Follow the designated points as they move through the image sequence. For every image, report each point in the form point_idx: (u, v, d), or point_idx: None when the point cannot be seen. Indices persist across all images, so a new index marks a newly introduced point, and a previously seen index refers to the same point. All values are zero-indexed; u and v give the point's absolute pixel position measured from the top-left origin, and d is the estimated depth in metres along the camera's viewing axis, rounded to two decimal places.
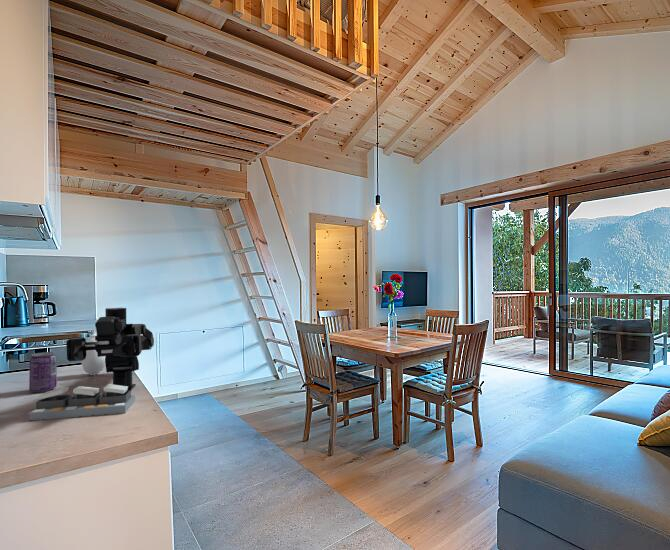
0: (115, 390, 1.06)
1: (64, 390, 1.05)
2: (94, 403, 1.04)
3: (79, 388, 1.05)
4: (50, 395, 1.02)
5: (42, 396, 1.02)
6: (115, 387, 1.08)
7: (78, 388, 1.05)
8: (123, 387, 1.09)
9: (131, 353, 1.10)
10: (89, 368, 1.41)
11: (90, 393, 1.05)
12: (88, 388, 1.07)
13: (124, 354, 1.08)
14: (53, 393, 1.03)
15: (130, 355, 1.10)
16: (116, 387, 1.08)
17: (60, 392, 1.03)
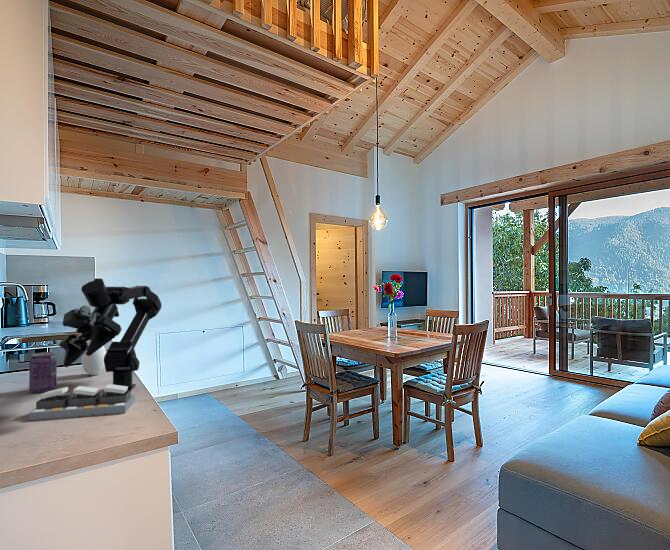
0: (115, 390, 1.06)
1: (64, 390, 1.05)
2: (94, 403, 1.04)
3: (79, 388, 1.05)
4: (50, 395, 1.02)
5: (42, 396, 1.02)
6: (115, 387, 1.08)
7: (78, 388, 1.05)
8: (123, 387, 1.09)
9: (111, 336, 1.06)
10: (89, 368, 1.41)
11: (90, 393, 1.05)
12: (88, 388, 1.07)
13: (104, 343, 1.05)
14: (53, 393, 1.03)
15: (112, 338, 1.06)
16: (116, 387, 1.08)
17: (60, 392, 1.03)
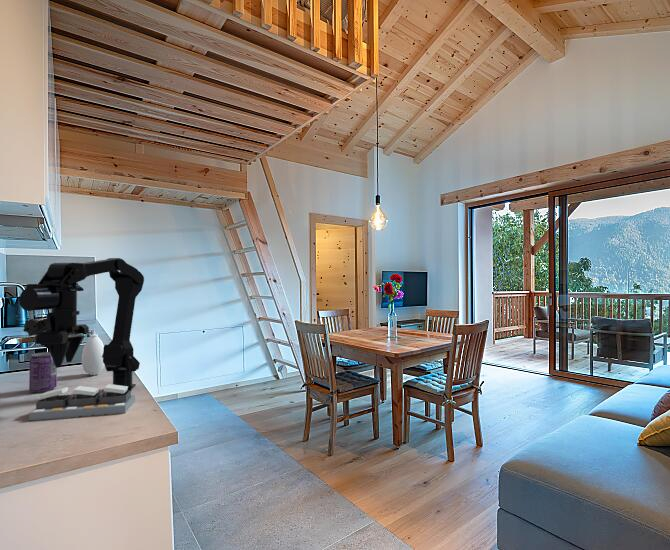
0: (115, 390, 1.06)
1: (64, 390, 1.05)
2: (94, 403, 1.04)
3: (79, 388, 1.05)
4: (50, 395, 1.02)
5: (42, 396, 1.02)
6: (115, 387, 1.08)
7: (78, 388, 1.05)
8: (123, 387, 1.09)
9: (62, 344, 0.99)
10: (89, 368, 1.41)
11: (90, 393, 1.05)
12: (88, 388, 1.07)
13: (63, 351, 1.01)
14: (53, 393, 1.03)
15: (65, 344, 1.00)
16: (116, 387, 1.08)
17: (60, 392, 1.03)
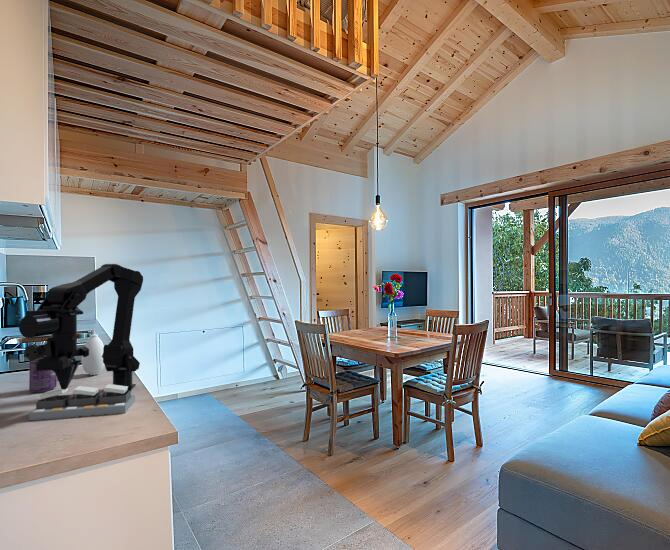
0: (115, 390, 1.06)
1: (64, 390, 1.05)
2: (94, 403, 1.04)
3: (79, 388, 1.05)
4: (50, 395, 1.02)
5: (42, 396, 1.02)
6: (115, 387, 1.08)
7: (78, 388, 1.05)
8: (123, 387, 1.09)
9: (67, 367, 1.02)
10: (89, 368, 1.41)
11: (90, 393, 1.05)
12: (88, 388, 1.07)
13: (68, 373, 1.04)
14: (53, 393, 1.03)
15: None
16: (116, 387, 1.08)
17: (60, 392, 1.03)
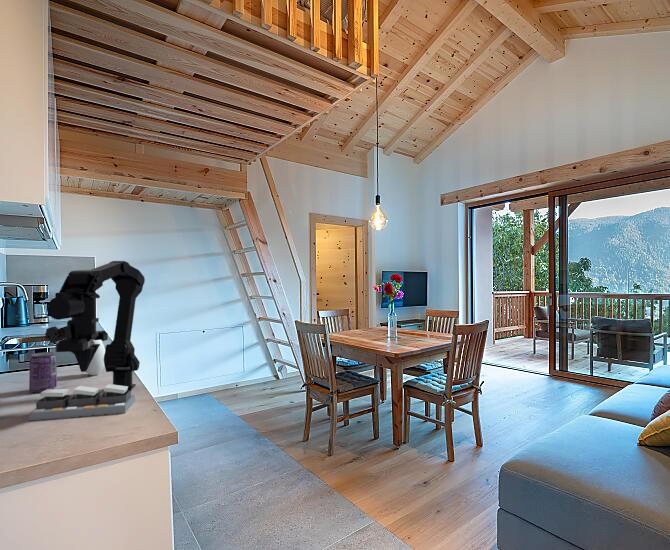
0: (115, 390, 1.06)
1: (65, 393, 1.05)
2: (94, 403, 1.04)
3: (79, 388, 1.05)
4: (50, 395, 1.02)
5: (43, 394, 1.02)
6: (115, 387, 1.08)
7: (78, 388, 1.05)
8: (123, 387, 1.09)
9: (87, 350, 1.04)
10: (89, 368, 1.41)
11: (90, 393, 1.05)
12: (88, 388, 1.07)
13: (88, 356, 1.05)
14: (54, 393, 1.03)
15: (89, 350, 1.04)
16: (116, 387, 1.08)
17: (61, 394, 1.03)
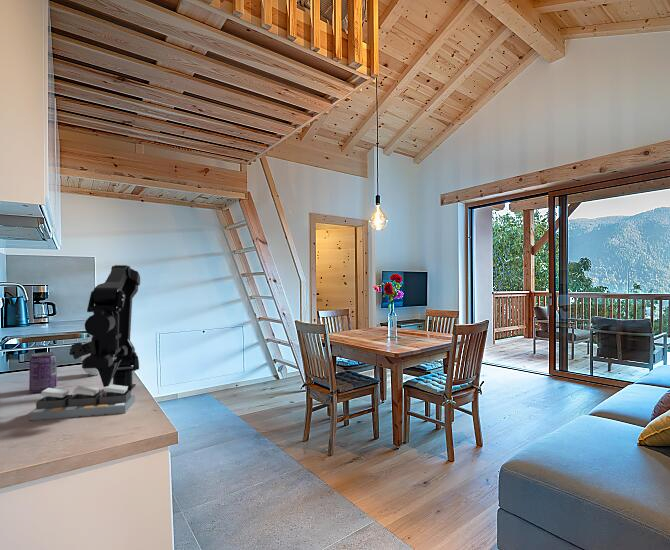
0: (115, 390, 1.06)
1: (65, 394, 1.05)
2: (94, 403, 1.04)
3: (79, 388, 1.05)
4: (51, 395, 1.02)
5: (43, 393, 1.02)
6: (115, 387, 1.08)
7: (78, 388, 1.05)
8: (123, 387, 1.09)
9: (110, 365, 1.05)
10: (89, 368, 1.41)
11: (90, 393, 1.05)
12: (88, 388, 1.07)
13: (111, 371, 1.06)
14: (54, 394, 1.03)
15: (113, 365, 1.05)
16: (116, 387, 1.08)
17: (61, 395, 1.03)
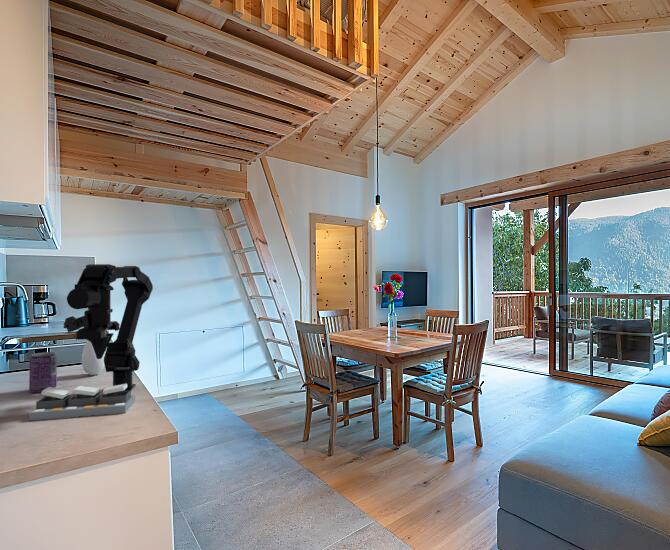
0: (114, 390, 1.06)
1: (65, 395, 1.05)
2: (94, 403, 1.04)
3: (79, 388, 1.05)
4: (51, 395, 1.02)
5: (44, 392, 1.02)
6: (113, 387, 1.07)
7: (78, 388, 1.05)
8: (122, 385, 1.09)
9: (103, 338, 1.11)
10: (89, 368, 1.41)
11: (90, 393, 1.05)
12: (88, 388, 1.07)
13: (103, 344, 1.12)
14: (54, 394, 1.03)
15: (105, 338, 1.11)
16: (115, 387, 1.08)
17: (61, 396, 1.03)
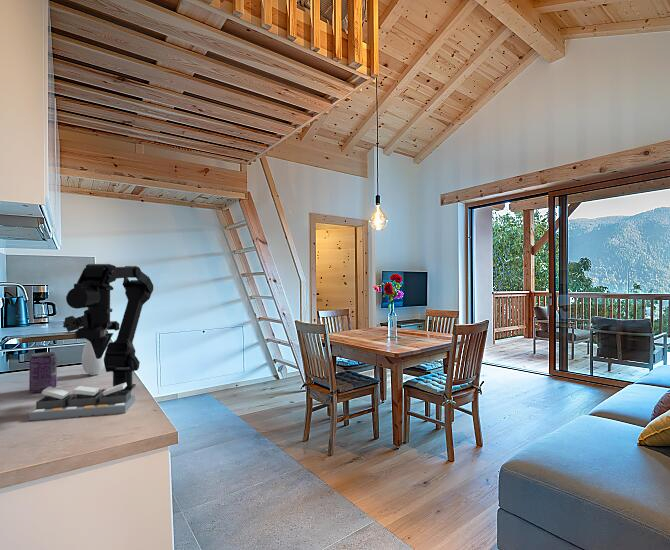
0: (114, 390, 1.06)
1: (65, 396, 1.05)
2: (94, 403, 1.04)
3: (79, 388, 1.05)
4: (51, 395, 1.02)
5: (44, 391, 1.02)
6: (113, 387, 1.07)
7: (78, 388, 1.05)
8: (121, 384, 1.09)
9: (102, 338, 1.11)
10: (89, 368, 1.41)
11: (90, 393, 1.05)
12: (88, 388, 1.07)
13: (103, 344, 1.12)
14: (55, 394, 1.03)
15: (105, 338, 1.11)
16: (114, 387, 1.08)
17: (61, 397, 1.03)
